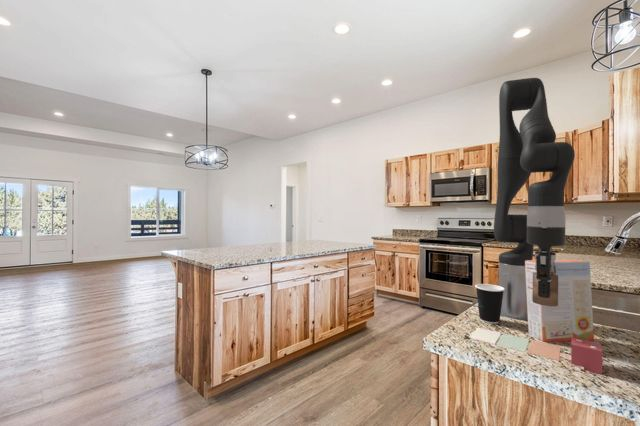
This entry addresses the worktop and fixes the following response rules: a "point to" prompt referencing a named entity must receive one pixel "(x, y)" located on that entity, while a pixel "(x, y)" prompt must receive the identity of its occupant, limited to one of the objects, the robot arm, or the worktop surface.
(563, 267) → the cracker box
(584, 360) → the die
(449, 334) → the worktop surface
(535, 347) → the board
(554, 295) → the pawn
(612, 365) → the worktop surface
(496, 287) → the dixie cup
